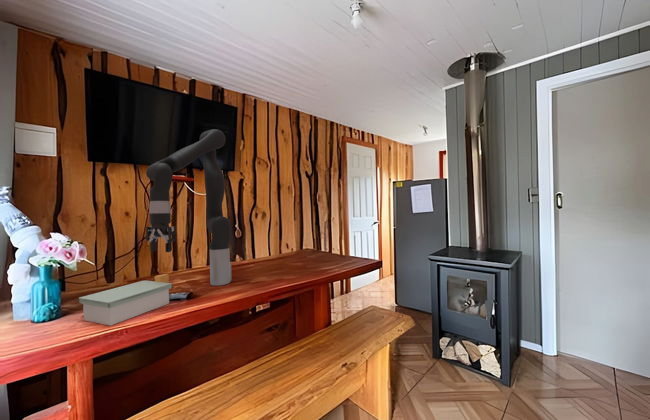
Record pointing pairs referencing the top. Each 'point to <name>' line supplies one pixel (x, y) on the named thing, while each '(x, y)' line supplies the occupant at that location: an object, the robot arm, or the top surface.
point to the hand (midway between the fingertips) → (161, 251)
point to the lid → (127, 292)
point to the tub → (125, 309)
